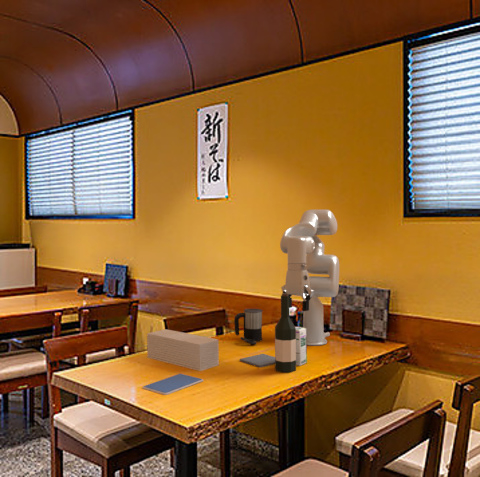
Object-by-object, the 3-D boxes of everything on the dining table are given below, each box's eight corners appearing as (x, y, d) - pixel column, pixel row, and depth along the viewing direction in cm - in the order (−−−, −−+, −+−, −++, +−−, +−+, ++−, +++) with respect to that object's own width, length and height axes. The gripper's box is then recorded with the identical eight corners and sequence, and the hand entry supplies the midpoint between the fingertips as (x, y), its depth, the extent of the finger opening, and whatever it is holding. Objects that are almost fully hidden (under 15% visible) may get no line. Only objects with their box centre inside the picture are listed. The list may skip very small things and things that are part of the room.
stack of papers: (147, 358, 224) (147, 333, 223) (166, 353, 232) (165, 329, 231) (200, 371, 203) (199, 344, 203) (218, 365, 211) (218, 339, 211)
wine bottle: (298, 367, 206) (297, 292, 205) (293, 373, 198) (293, 295, 197) (277, 365, 209) (277, 291, 208) (272, 371, 201) (271, 294, 200)
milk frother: (257, 337, 260) (257, 307, 260) (272, 344, 246) (272, 312, 245) (231, 340, 254) (231, 310, 254) (244, 347, 240) (244, 315, 239)
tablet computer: (165, 397, 175) (165, 393, 175) (141, 389, 183) (140, 385, 183) (204, 382, 190) (204, 379, 190) (180, 376, 198) (180, 372, 198)
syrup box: (300, 366, 208) (300, 330, 208) (287, 364, 212) (287, 328, 211) (307, 362, 213) (306, 327, 212) (294, 360, 216) (294, 326, 216)
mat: (262, 355, 225) (262, 353, 225) (283, 361, 215) (283, 359, 215) (239, 360, 217) (239, 358, 217) (260, 367, 207) (260, 365, 207)
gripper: (319, 268, 206) (319, 310, 207) (288, 265, 220) (288, 305, 220) (305, 269, 202) (306, 313, 202) (275, 266, 215) (275, 307, 216)
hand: (297, 309), depth 211 cm, fingers open, 9 cm apart
